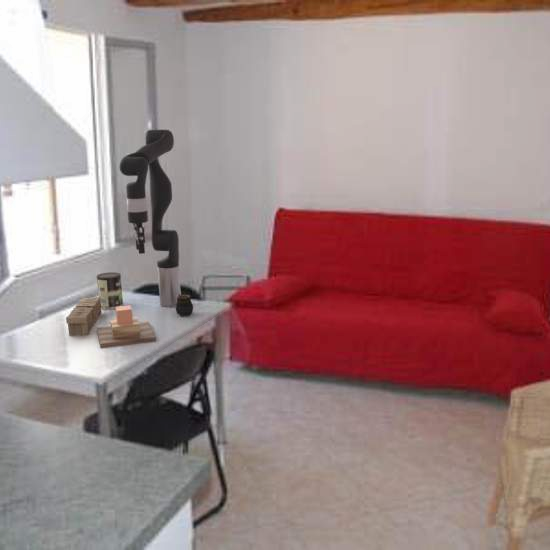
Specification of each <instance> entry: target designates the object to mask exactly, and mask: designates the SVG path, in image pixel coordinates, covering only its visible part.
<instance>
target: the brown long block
mask: <svg viewBox="0 0 550 550" xmlns="http://www.w3.org/2000/svg"><path fill="white" fill-rule="evenodd" d="M101 315H102V308H101V298H100V297H99V296H95V297H87V298H81V299H80V300H79V301H78V302H77V304H76V305H75V307H73V309H72V310H71V311H70V313H69V314H68V316H66V317H65V321H66V325H67V326H68V327H67V328H68V336H86V335H87V336H88V335H90V334H91V331H92V330H93V328H94V327H95V325H96V323H97V322H98V320H99V319H100V317H101Z"/></svg>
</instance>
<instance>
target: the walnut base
mask: <svg viewBox="0 0 550 550" xmlns="http://www.w3.org/2000/svg"><path fill="white" fill-rule="evenodd" d="M132 317H133V323H131V324H122V325H118V323H117V319H116V318H115V319H114V318H113V319H109V321H110V322H109V324H110V325H107V326H101V327H98V326H97V327H96V333H97V337H98V343H99V347H100V348H101V349H102V348H110V347H117V346H124V345H125V346H126V345H132V344H138V343H147V342H149V343H150V342H156V341H157V340H156V338H157V337H156V334H155V333H154V329H152V326H151V324H150V321H140V322H139V320H138V317H137V316H132Z"/></svg>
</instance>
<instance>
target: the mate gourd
mask: <svg viewBox="0 0 550 550" xmlns="http://www.w3.org/2000/svg"><path fill="white" fill-rule="evenodd" d="M178 295H179V296H178V297H177V304H176V306H175V312H176V314H177V315H179V316H181V317H188V316H190V315H192V314H193V310H194V305H193V303H192V300H191V295H189V294H181V295H180V294H178Z"/></svg>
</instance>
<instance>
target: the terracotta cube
mask: <svg viewBox="0 0 550 550" xmlns="http://www.w3.org/2000/svg"><path fill="white" fill-rule="evenodd" d="M115 317H116V318H115V319H117V323H118V325H122V324H131V323H133V317H134V316H133V309H132V306H131V305H123V306H120V307H115Z"/></svg>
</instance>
